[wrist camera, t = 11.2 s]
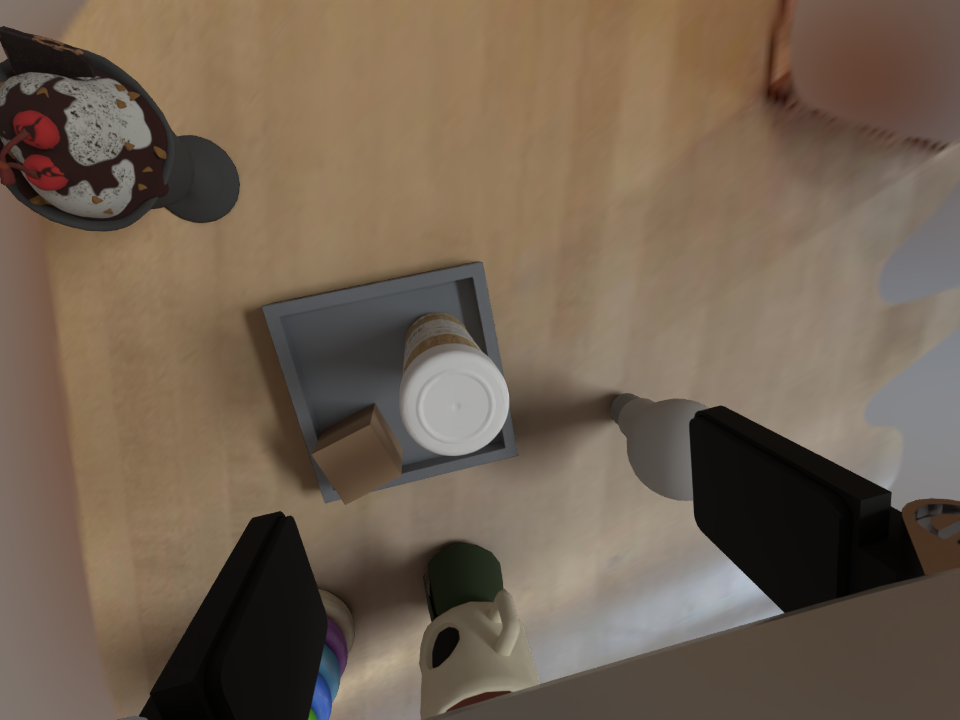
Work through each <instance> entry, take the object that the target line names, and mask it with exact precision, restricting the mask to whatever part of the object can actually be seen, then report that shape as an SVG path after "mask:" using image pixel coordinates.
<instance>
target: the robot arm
mask: <svg viewBox="0 0 960 720" xmlns="http://www.w3.org/2000/svg"><path fill="white" fill-rule="evenodd" d="M689 436H690V453H691V470H692V487H693V504H694V517H695V520H696V523H697V525H698V527H699V529H700V530H701V531H702V532H703V533H704V534H705V535H706V536H707V537H708V538H709V539H710V540H711V541H712V542H713V543H714V544H715V545H716V546H717V547H718V548H719V549H720V550H721V551H722V552H723V553H724V554H725V555H726V556H727V557H728V558H729V559H730V560H731V561H732V562H733V563H734V564H735V565H736V566H737V567H738V568H739V569H740V570H741V571H743V572H744V573H745V574H746V575H747V576H748V577H749V578H750V579H751V580H752V581H753V582H754V583H755V584H756V585H757V586H758V587H759V588H760V589H761V590H762V591H763V592H764V593H765V594H766V595H767V596H768V597H769V598H770V599H771V600H772V601H773V602H774V603H775V604H776V605H777V606H778V607H779V608H780V609H781V610H782V611H783V612H784V613H783V614H780V615H776V616H773V617H769V618H766V619H762V620H759V621H755V622H752V623H748V624H745V625H741V626H738V627H734V628H731V629H727V630H724V631H721V632H717V633H714V634H710V635H707V636H703V637H700V638H696V639H693V640H689V641H686V642H682V643H679V644H675V645H672V646H668V647H665V648H662V649H658V650H655V651H651V652H648V653H644V654H641V655H638V656H634V657H631V658H627V659H624V660H620V661H617V662H614V663H610V664H607V665H603V666H600V667H597V668H593V669H590V670H586V671H583V672H580V673H576V674H573V675H569V676H566V677H563V678H559V679H556V680H552V681H549V682H546V683H542V684H539V685H535V686H532V687H529V688H525V689H522V690H518V691H515V692H512V693H508V694H505V695H502V696H498V697H495V698H492V699H488V700H485V701H482V702H478V703H475V704H472V705H468V706H465V707H462V708H458V709H455V710H452V711H448V712H445V713H442V714H438V715H435V716H432V717H428V718H425V719H422V720H960V501H955V500H949V499H933V498H930V499H920V500H915V501H913V502H910V503H907V504H906V505H905V506H904V507H903V509H902V512H900V511H898V510H897V509H895V508H893V507H891V492H890V491H888V490H886V489H884V488H882V487H880V486H878V485H877V484H875V483H873V482H871V481H869V480H867V479H865V478H863V477H861V476H859V475H857V474H855V473H853V472H851V471H849V470H847V469H845V468H843V467H841V466H839V465H837V464H835V463H834V462H832V461H830V460H828V459H826V458H824V457H822V456H820V455H818V454H816V453H814V452H812V451H810V450H808V449H806V448H804V447H802V446H800V445H798V444H796V443H794V442H793V441H791V440H789V439H787V438H785V437H783V436H781V435H779V434H777V433H775V432H773V431H771V430H769V429H767V428H765V427H763V426H761V425H759V424H757V423H755V422H753V421H751V420H750V419H748V418H746V417H744V416H742V415H740V414H738V413H736V412H734V411H732V410H730V409H728V408H726V407H724V406H717V407H713V408H708V409H704V410H700V411H697V412H696V413H695V415H694V418H693V419H691V420H690V422H689ZM327 629H328V621H327V614H326V611H325V608H324V605H323V602H322V599H321V596H320V593H319V590H318V587H317V584H316V581H315V578H314V575H313V572H312V569H311V567H310V564H309V561H308V558H307V555H306V552H305V549H304V546H303V543H302V540H301V537H300V534H299V531H298V528H297V525H296V522H295V520H294V518H293V517H292V516H287V517H285V515H284V514H283V512H281V511H279V512H275V513H271V514H266V515H262V516H258V517H254V518H252V519H251V520H250V522H249V524H248V525H247V527H246V529H245V531H244V532H243V534H242V536H241V537H240V539H239V541H238V543H237V544H236V546H235V548H234V549H233V551H232V553H231V555H230V556H229V558H228V560H227V561H226V563H225V565H224V567H223V568H222V570H221V572H220V573H219V575H218V577H217V579H216V580H215V582H214V584H213V585H212V587H211V589H210V591H209V592H208V594H207V596H206V597H205V599H204V601H203V603H202V604H201V606H200V608H199V609H198V611H197V613H196V615H195V616H194V618H193V620H192V622H191V623H190V625H189V627H188V628H187V630H186V632H185V634H184V635H183V637H182V639H181V640H180V642H179V644H178V646H177V647H176V649H175V651H174V652H173V654H172V656H171V658H170V659H169V661H168V663H167V664H166V666H165V668H164V670H163V671H162V673H161V675H160V676H159V678H158V680H157V682H156V683H155V685H154V687H153V688H152V690H151V692H150V695H151V696H150V698H149V699H148V701H147V703H146V705H145V706H144V708H143V710H142V711H141V713H140V715H139V717H138V716H132V717H127V718H122V719H118V720H308V718H309V714H310V709H311V705H312V700H313V695H314V691H315V686H316V681H317V677H318V672H319V667H320V663H321V658H322V654H323V649H324V644H325V640H326V635H327Z"/></svg>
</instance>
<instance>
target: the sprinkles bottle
mask: <svg viewBox="0 0 960 720" xmlns="http://www.w3.org/2000/svg"><path fill="white" fill-rule="evenodd" d="M399 408H400V415H401V419H402V422H403V425H404V427H405V429H406V431H407V432H408V434H409V435H410V436H411V437H412V438H413V440H414V441H415V442H416V443H418V444H419V445H420V446H422V447H423V448H425V449H427V450H429V451H431V452H433V453H436V454H440V455H446V456H459V455H465V454H469V453H472V452H475V451H477V450H479V449H481V448H482V447H484V446H485V445H487V444H488V443H489V442H490V441H492V440H493V439H494V438H495V437H496V435H497V434H498V433H499V432H500V430H501V429H502V427H503V425H504V423H505V421H506V418H507V415H508V410H509V392H508V388H507V385H506V382H505V380H504V378H503V376H502V374H501V372H500V371H499V369H498V368H497V366H496V365H495V364H494V363H493V361H492V360H491V359H490V358H489V357H488V356H487V355H486V354H484V353H483V352H482V351H481V350H480V348H479V347H478V345H477V344H476V343H475V342H474V340H473V339H472V337H471V336H470V334H469V333H468V332H467V330H466V328H465V326H464V325H463V324H462V323H461V322H460V321H459V320H458V319H457V318H455V317H454V316H452V315H449V314H447V313H438V312H435V313H429V314H426V315H424V316H422V317H420V318H418V319H417V320H416V321H415V322H414V323H413V324H412V326H411V327H410V328H409V329H408V332H407V334H406V338H405V352H404V365H403V378H402V380H401V384H400V391H399Z"/></svg>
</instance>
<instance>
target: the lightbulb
mask: <svg viewBox="0 0 960 720" xmlns="http://www.w3.org/2000/svg"><path fill="white" fill-rule="evenodd" d="M704 409H708V407H707V406H705V405H703V404H701V403H699V402H695V401H692V400H686V399H669V400H663V401H659V402H653V401H651V400H649V399H645V398H640V397H638V396H635V395H633V394H630V393H625V394H622V395H620V396H618V397H617V398H615V400H614V401H613V402H612V404H611V408H610V414H611V417H612V418H613V420H614V421H615V422H616V423H617V424H618V425H619V428H620V430H621V432H622V433H623V434H624V435H625V436H626V438H627V454H628V459H629V462H630V464H631V466H632V468H633V470H634V472H635V474H636V475H637V477H638V478H639V479H640V481H641V482H642V483H643V484H644V485H646V486H647V487H648V488H649V489H651V490H652V491H654V492H656V493H657V494H660V495H662V496H664V497H667V498H670V499H674V500H684V501H688V500H693V487H692V470H691V453H690V436H689V422H690V420H691V419H693V418H694V415H695V413H696V412H697V411H700V410H704Z"/></svg>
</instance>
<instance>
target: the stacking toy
mask: <svg viewBox="0 0 960 720" xmlns="http://www.w3.org/2000/svg"><path fill="white" fill-rule="evenodd" d="M318 590H319V593H320V596H321V599H322V602H323V605H324V608H325V611H326V614H327V621H328V629H327V635H326V640H325V644H324V649H323V654H322V658H321V663H320V667H319V672H318V677H317V681H316V686H315V691H314V695H313V700H312V705H311V709H310V714H309V718H308V720H329V717H330V714H331V708H332V702H333V700H334V699H335V697H336V695H337V692H338V689H339V685H340V678H341V676H342V674H343V672H344V670H345V667H346V664H347V658H348V654H349V652H350V650H351V647H352V645H353V641H354V635H355V626H354V621H353V618H352V615H351V613H350V611H349V609H348V608H347V606H346V605H345V604H344V603H343V602H342V601H341V600H340V599H339V598H338V597H336V596H335V595H333V594H331V593H329V592H327V591H325V590H321V589H318Z"/></svg>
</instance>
